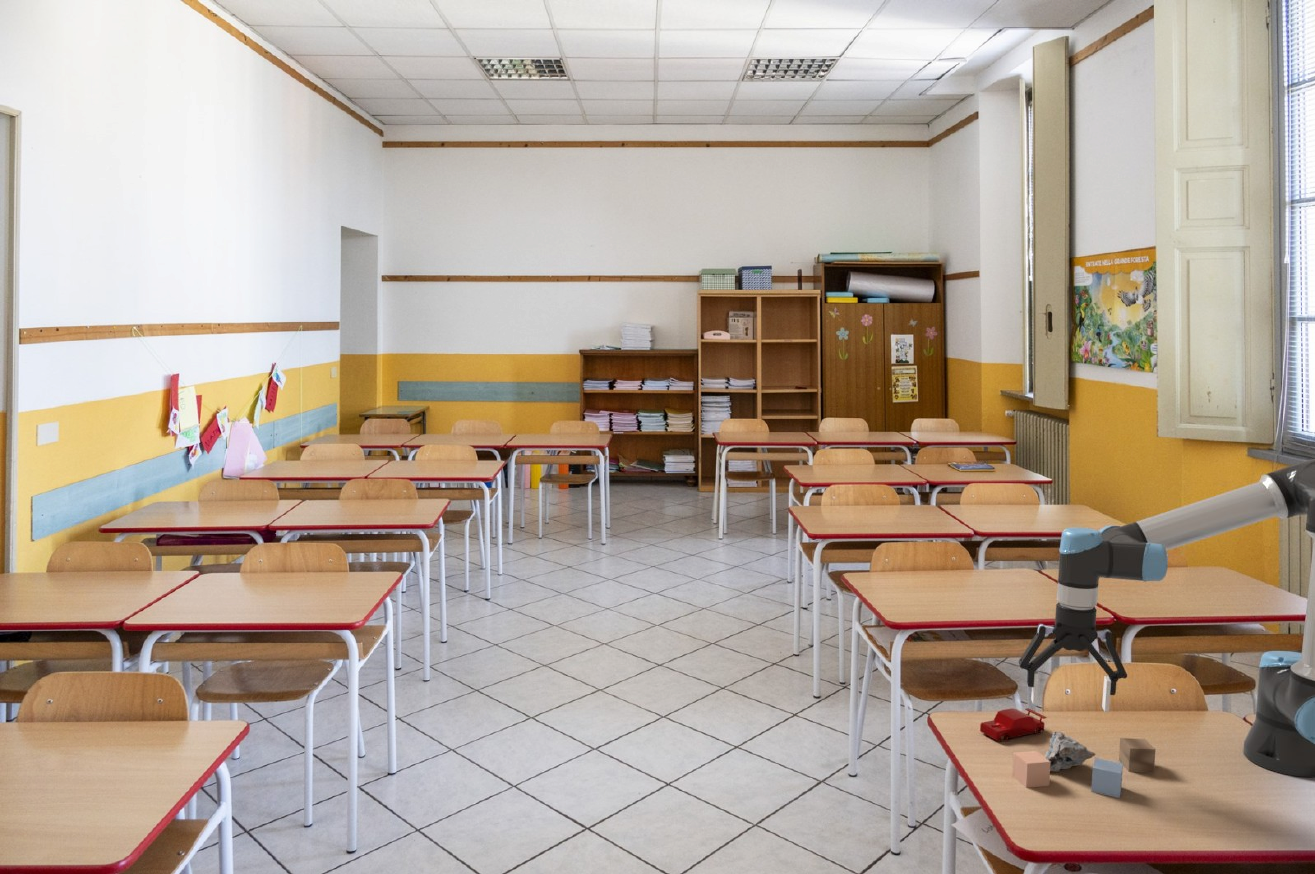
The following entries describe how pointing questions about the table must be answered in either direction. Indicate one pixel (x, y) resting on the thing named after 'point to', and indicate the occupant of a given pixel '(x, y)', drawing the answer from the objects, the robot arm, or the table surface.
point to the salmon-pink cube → (1031, 769)
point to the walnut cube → (1137, 755)
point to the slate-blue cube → (1107, 777)
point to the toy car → (1012, 724)
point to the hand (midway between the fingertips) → (1069, 705)
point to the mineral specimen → (1066, 752)
